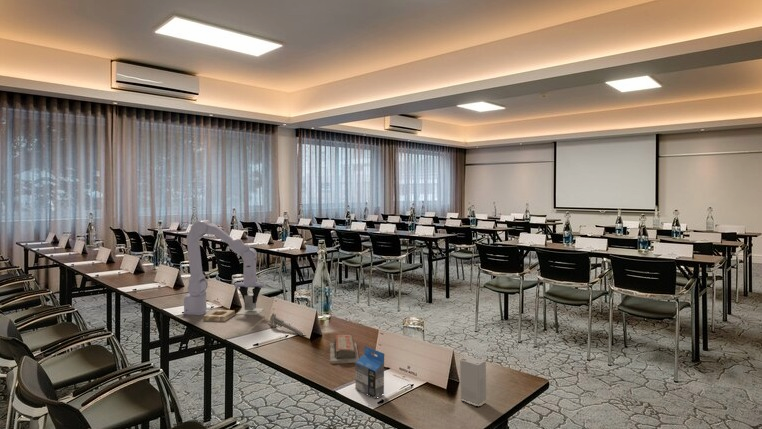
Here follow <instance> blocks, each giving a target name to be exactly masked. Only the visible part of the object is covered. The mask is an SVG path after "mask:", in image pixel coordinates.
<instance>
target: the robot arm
mask: <svg viewBox="0 0 762 429" xmlns="http://www.w3.org/2000/svg"><path fill="white" fill-rule="evenodd" d="M205 235H207V236H208V235H209V236H210V235H211V236H215V237H216V238H218V239H219V240H221V241H222V242H224V243H225V244H227V245H228V247H229V249H230V250H231V251H233V252H234V253H235V254H237V255H238V256H240V257H241V259H242V260H243V282H241V281H240V282H235V283H234V288H238V291H239V293H240V295H241V296H242V300H243V301H244V295H246V294H248V291H249V290H248V289H249V288H252V294H253V302H254V303H256V304H257V302H258V298H259V294H260V291H261V289H265V288H266V287H267V286H266V285H267V284H266V283H265V282H257V257H258V253H257V250H256V249H255V248H254V247H251V246H250V245H247V244H246V243H244V242H243V239H241V238H233V237H232V236H230V235H229V234H228V233H227V232H226V231H225V230H223V229H221V228H220V227H219V226H218V225H217V224H216V223H214V222H212V221H211V220H208V219H203V220H199V221H195V222H194V223H193V224H192V225H191V226H190V229H189V232H188V234H187V235H186V244H187V246H186V247H187V254H188V262H189V272H190V273H189V274H190V277H189V279H188V286H187V292H188V294H186V295H185V296H184V298H183V315H196V316H200V315H201V316H202V315H203V316H204V314H205V315H206V314H207V313H209V312H211V309H207V308H208V307H207V292H206V291H207V289H208V287H209V286H208V281H207V280H206V275H205V274H204V273H203V266H202V256H201V255H202V254H201V247H200V246H201V245H200V240H201V239H202V238H203V237H204V236H205Z"/></svg>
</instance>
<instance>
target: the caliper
mask: <svg viewBox="0 0 762 429" xmlns="http://www.w3.org/2000/svg"><path fill="white" fill-rule="evenodd" d="M276 315H277V314H275V313H272V314H271V315H270V317H269V318H270V319H269V322H270V323H269V326H270V327H269V328H273V329H275V328H276V327H277V326H278V327H281V328H285V329H287V330H290V332H293V333H296V334H297V335H299V336H302V335H303V333H302V332H303V331H302V330H301V329H299V328H296V327H295V326H293V325H291V324H289V323H287V322H285V321H284V320H283V319H281V318H279V317H277V316H276ZM298 329H299V330H298ZM300 330H301V331H302V332H301V331H300Z"/></svg>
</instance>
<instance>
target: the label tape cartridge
mask: <svg viewBox="0 0 762 429" xmlns="http://www.w3.org/2000/svg"><path fill="white" fill-rule="evenodd" d="M373 354H374V355H373ZM375 355H376V356H375ZM354 364H355V368H354V369H355V382H354V383H355V384H354V385H355V388H354V389H355V390H356V389H357V391H358V392H361V393H362V394H364V393H365V395H366V394H368V395H370V396H372V397H374V398H377V397H379V396H381V395H382V394H384V395H385V353H383V352H380V351H378V350H375V349H374V348H371V347H368V346H366V345H364V350H363V354H362V355H361V356H360V357H359V359H358V360H357V361H356V362H355V363H354ZM368 395H367V396H368ZM370 396H369V397H370ZM372 397H371V398H372ZM381 397H382V396H381ZM374 398H373V399H374ZM379 398H380V397H379ZM377 399H378V398H377Z"/></svg>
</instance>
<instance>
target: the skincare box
mask: <svg viewBox="0 0 762 429" xmlns="http://www.w3.org/2000/svg"><path fill="white" fill-rule="evenodd" d="M459 363H460V364H459V366H460V367H459V368H460V369H459V372H460V373H459V374H460V378H459V379H460V400H461V399H464V400H466V401H470V402H472V403H475V404H478V405H479V404H480V403H482V402H483V401H485V400H486V401H487V361H485V360H482V359H479V358H475V357H473V356H469V355H467V356H465V357H463V358H462V359H460V360H459Z"/></svg>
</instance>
